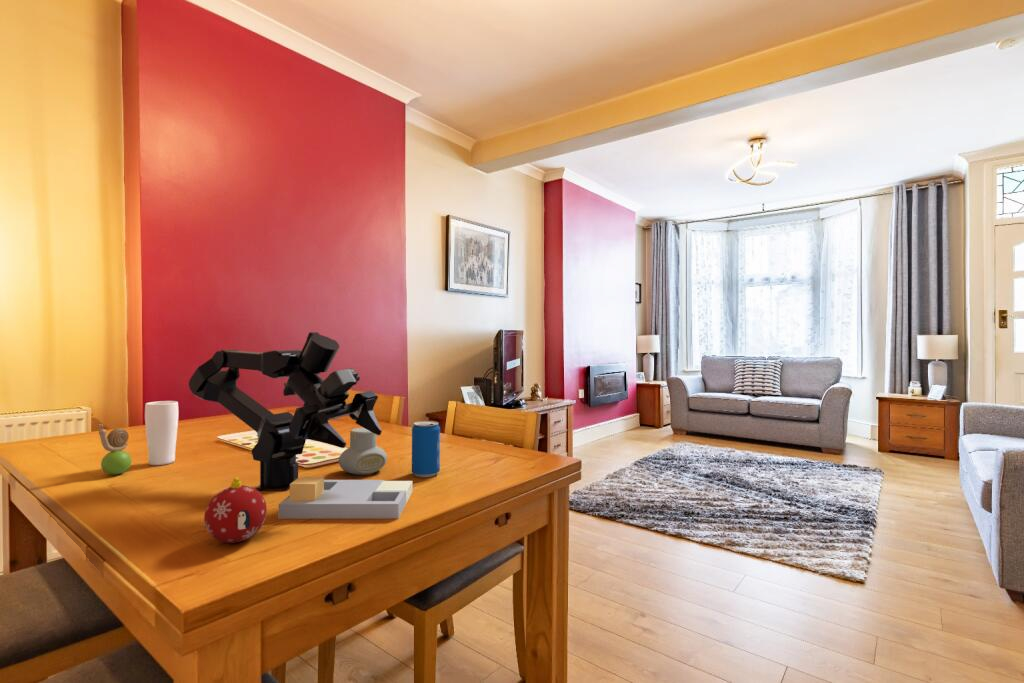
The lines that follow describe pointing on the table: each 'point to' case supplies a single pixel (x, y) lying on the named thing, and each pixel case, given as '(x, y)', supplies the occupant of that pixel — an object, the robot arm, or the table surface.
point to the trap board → (352, 501)
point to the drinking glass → (161, 431)
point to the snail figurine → (115, 451)
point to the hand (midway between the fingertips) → (363, 439)
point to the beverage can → (425, 448)
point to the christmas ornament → (235, 513)
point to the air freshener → (362, 453)
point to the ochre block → (306, 488)
